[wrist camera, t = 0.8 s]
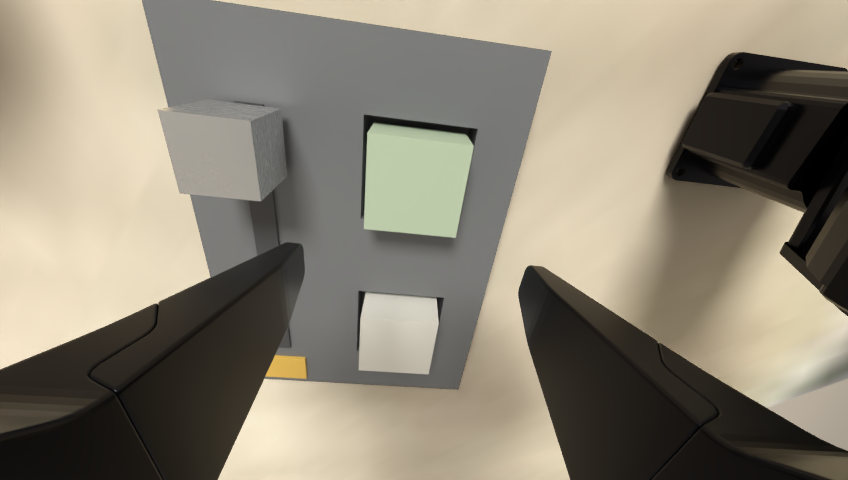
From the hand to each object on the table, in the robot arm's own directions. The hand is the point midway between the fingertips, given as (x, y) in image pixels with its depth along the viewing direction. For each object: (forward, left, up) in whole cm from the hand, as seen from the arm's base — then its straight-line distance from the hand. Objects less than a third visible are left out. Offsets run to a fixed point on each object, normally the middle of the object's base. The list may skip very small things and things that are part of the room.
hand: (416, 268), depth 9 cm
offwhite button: (0, +10, -9) cm, 13 cm away
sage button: (0, 0, -9) cm, 9 cm away
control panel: (+3, +5, -11) cm, 12 cm away
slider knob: (+8, -1, -8) cm, 11 cm away
